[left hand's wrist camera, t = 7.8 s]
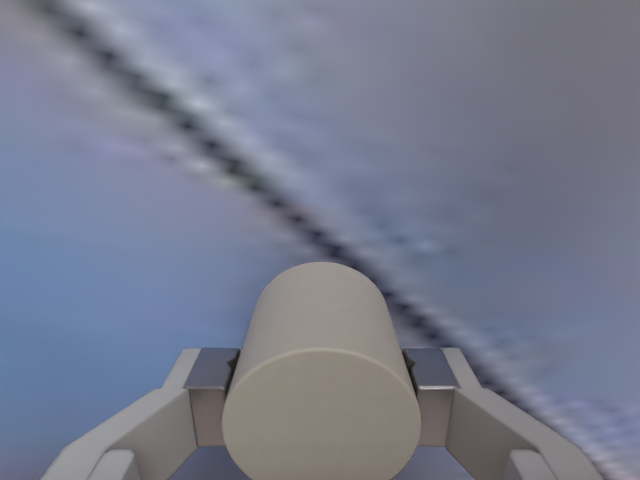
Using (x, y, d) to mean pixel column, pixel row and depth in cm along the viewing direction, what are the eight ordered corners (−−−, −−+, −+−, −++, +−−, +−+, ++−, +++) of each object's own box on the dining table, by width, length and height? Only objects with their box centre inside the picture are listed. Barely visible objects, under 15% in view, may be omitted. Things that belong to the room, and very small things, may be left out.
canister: (413, 337, 13) (457, 452, 9) (304, 396, 14) (297, 526, 9) (340, 234, 11) (351, 311, 7) (225, 307, 12) (178, 412, 8)
